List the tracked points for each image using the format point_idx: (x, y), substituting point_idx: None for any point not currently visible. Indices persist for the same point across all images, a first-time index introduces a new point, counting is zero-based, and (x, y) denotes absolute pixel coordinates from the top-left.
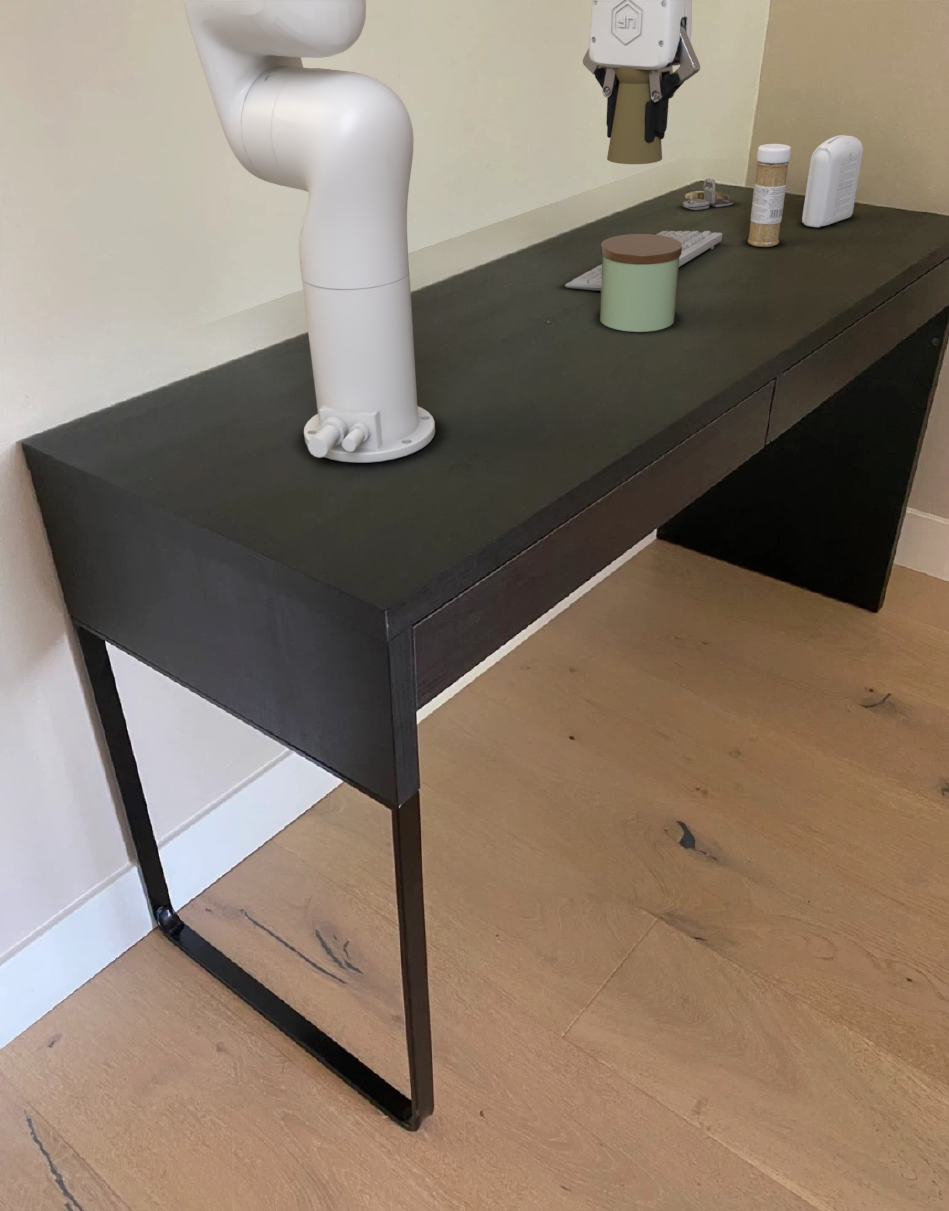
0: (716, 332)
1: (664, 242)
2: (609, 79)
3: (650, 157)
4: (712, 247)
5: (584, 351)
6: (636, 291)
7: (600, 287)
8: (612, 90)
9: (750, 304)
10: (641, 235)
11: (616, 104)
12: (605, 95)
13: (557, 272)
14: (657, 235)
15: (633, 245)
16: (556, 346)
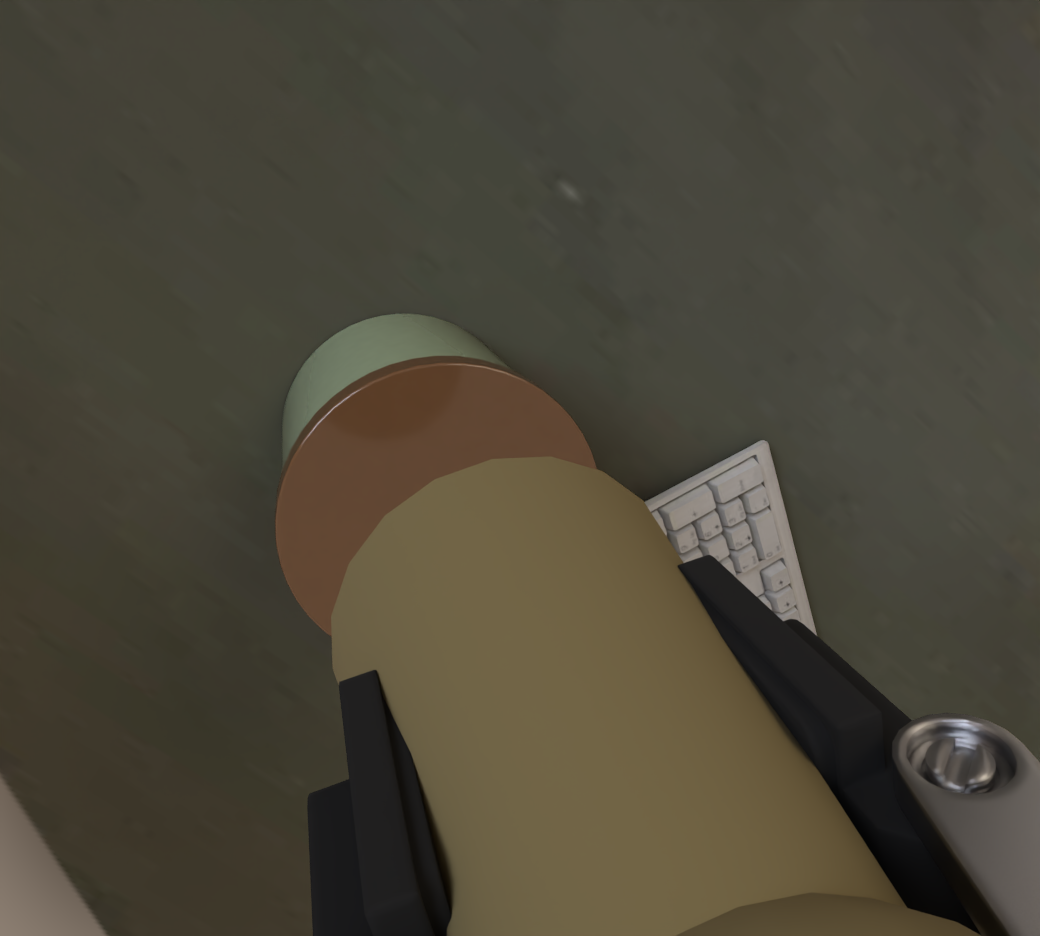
0: (158, 551)
1: None
2: (1034, 854)
3: (338, 644)
4: None
5: (260, 84)
6: (322, 382)
7: (660, 494)
8: (907, 791)
9: (303, 768)
10: None
11: (753, 710)
12: (946, 723)
13: (870, 506)
14: None
15: None
16: (361, 40)
